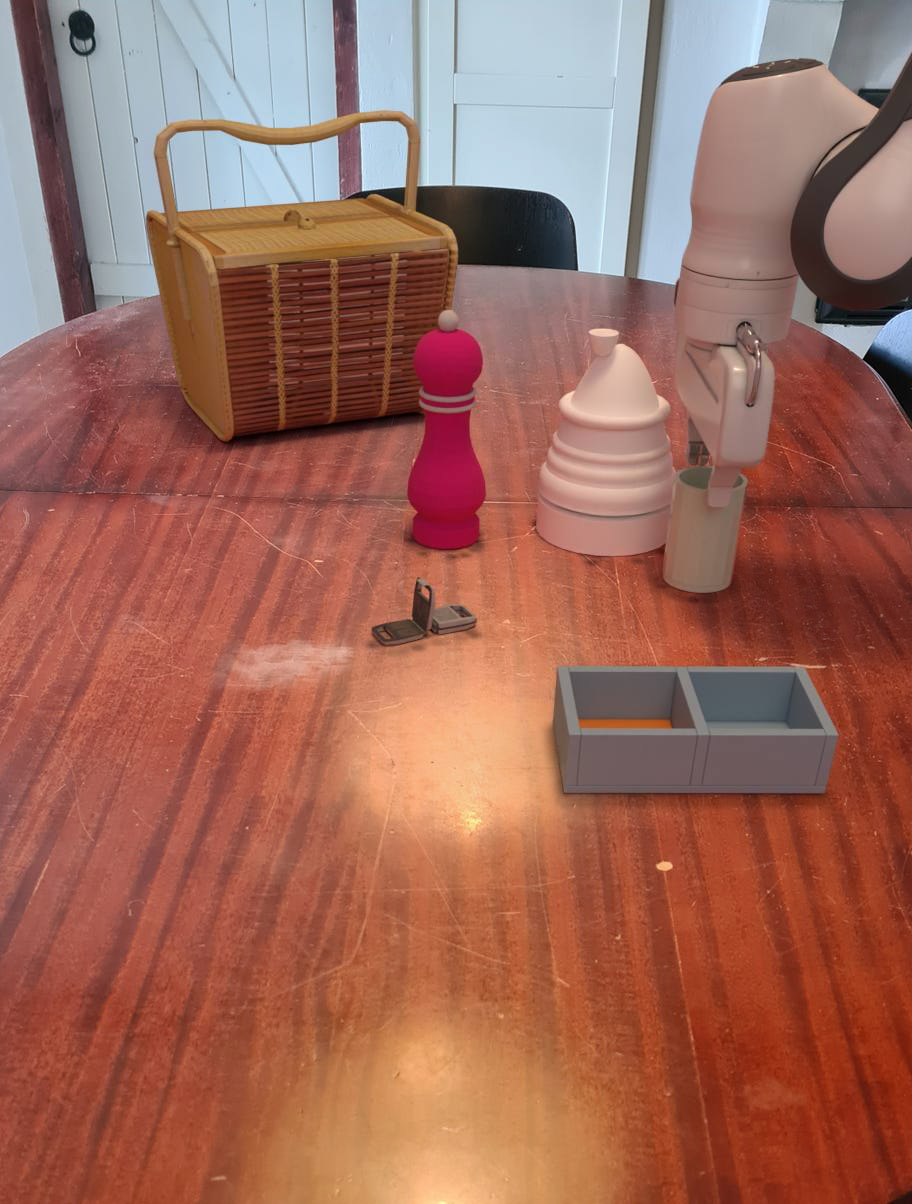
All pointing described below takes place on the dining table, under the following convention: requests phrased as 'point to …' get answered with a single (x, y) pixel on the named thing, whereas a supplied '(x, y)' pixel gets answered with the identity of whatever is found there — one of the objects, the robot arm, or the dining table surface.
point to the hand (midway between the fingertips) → (705, 482)
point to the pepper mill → (447, 439)
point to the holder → (691, 730)
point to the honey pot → (608, 460)
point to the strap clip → (426, 618)
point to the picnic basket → (299, 295)
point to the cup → (701, 533)
